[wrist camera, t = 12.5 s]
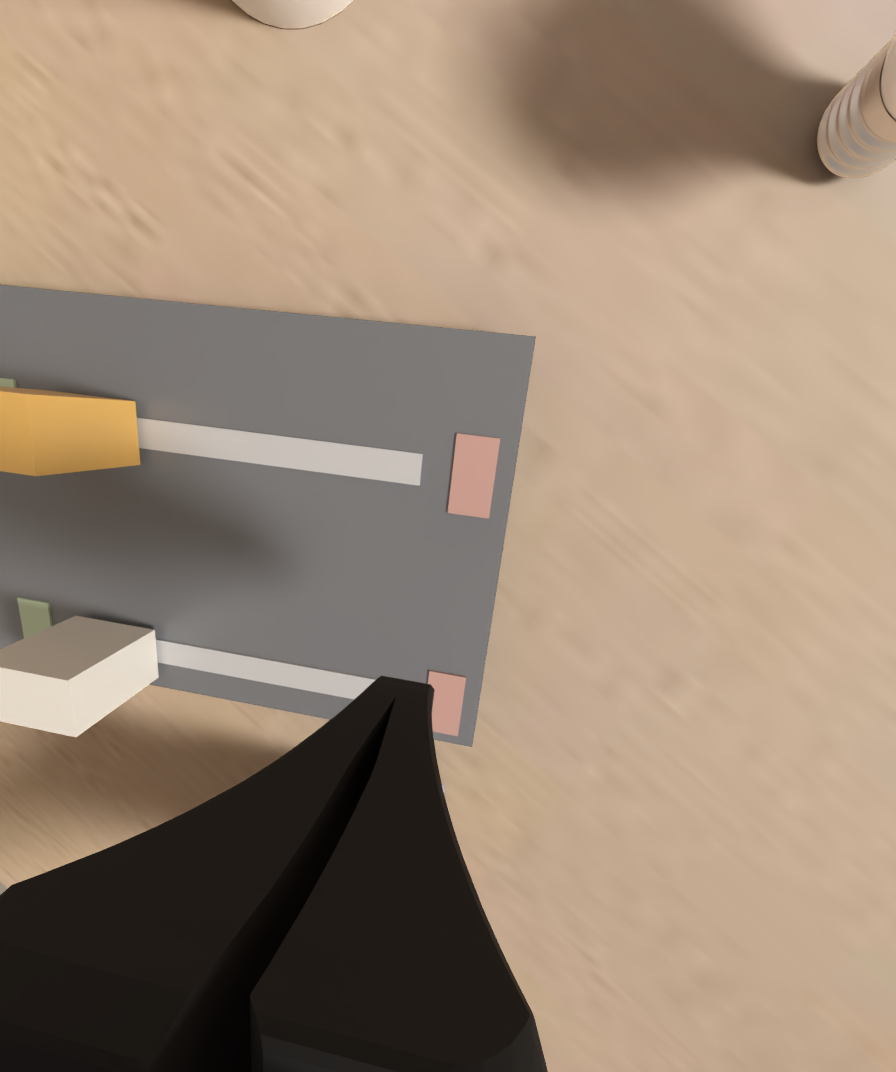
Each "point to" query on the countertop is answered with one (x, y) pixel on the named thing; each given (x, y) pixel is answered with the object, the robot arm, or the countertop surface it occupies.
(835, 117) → the lightbulb
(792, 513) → the countertop surface
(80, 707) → the cream handle
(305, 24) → the cylindrical container
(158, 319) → the gray slider board
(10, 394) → the orange rectangular block
